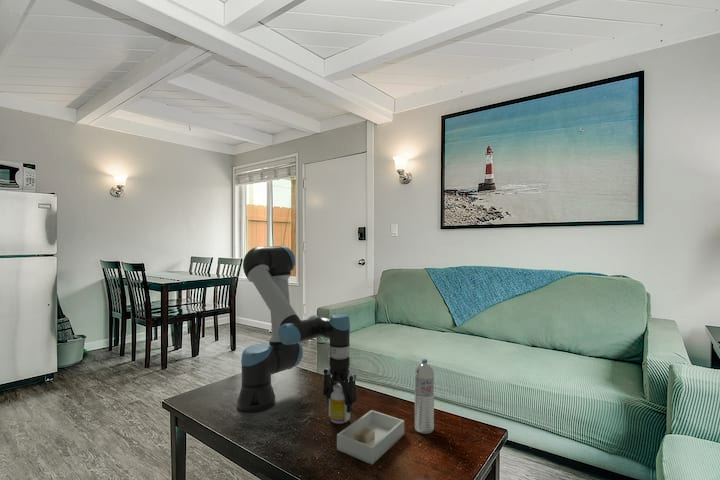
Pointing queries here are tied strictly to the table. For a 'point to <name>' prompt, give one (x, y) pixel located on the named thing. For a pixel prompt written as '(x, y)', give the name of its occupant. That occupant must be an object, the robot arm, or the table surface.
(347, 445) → the tote
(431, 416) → the water bottle
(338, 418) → the supplement bottle
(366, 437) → the maple cube
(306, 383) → the table surface
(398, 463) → the table surface
